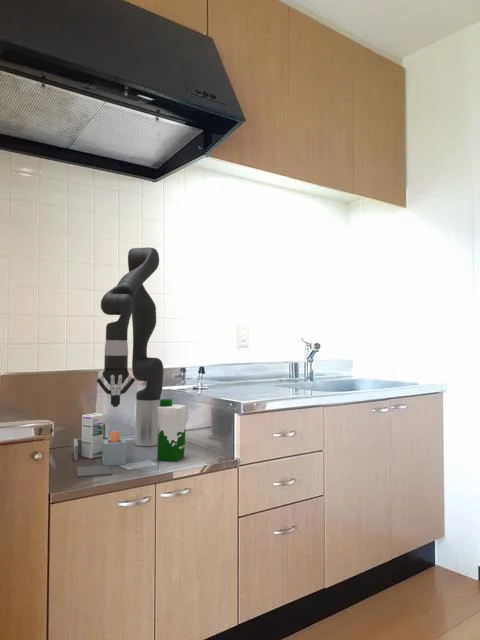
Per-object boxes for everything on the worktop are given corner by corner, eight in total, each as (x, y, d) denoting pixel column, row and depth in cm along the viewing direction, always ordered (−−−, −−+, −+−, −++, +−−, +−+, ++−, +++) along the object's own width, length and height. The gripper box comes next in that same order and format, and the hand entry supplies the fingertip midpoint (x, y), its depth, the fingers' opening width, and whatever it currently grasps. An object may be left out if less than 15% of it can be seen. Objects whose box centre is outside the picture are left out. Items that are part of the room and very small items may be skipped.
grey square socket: (123, 459, 176) (124, 438, 177) (126, 464, 170) (126, 442, 170) (102, 460, 174) (102, 439, 174) (104, 465, 167) (104, 443, 168)
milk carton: (162, 455, 183) (163, 397, 184) (187, 456, 182) (188, 398, 182) (153, 461, 175) (154, 401, 175) (179, 462, 173) (180, 402, 173)
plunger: (118, 449, 174) (118, 430, 174) (119, 451, 171) (119, 432, 171) (109, 449, 173) (109, 431, 173) (110, 451, 170) (110, 433, 170)
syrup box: (91, 459, 176) (92, 415, 177) (80, 456, 180) (81, 414, 180) (105, 455, 181) (106, 413, 181) (94, 453, 184) (95, 412, 185)
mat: (109, 466, 167) (109, 465, 167) (112, 474, 157) (112, 473, 157) (76, 468, 163) (76, 467, 163) (77, 477, 154) (77, 475, 154)
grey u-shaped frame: (109, 450, 188) (110, 437, 188) (113, 458, 177) (113, 443, 178) (73, 453, 184) (73, 438, 184) (74, 460, 173) (74, 445, 173)
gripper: (134, 353, 179) (133, 404, 178) (94, 353, 174) (93, 405, 174) (138, 354, 171) (136, 407, 171) (96, 354, 167) (95, 408, 167)
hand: (115, 406), depth 172 cm, fingers closed
